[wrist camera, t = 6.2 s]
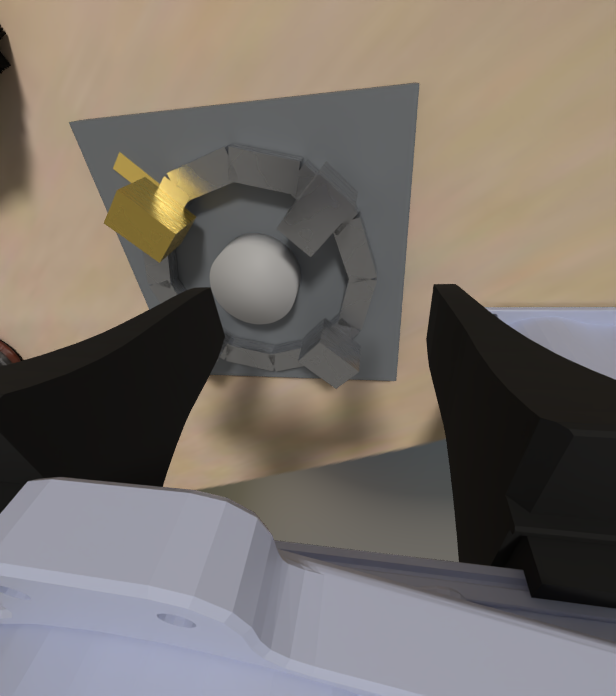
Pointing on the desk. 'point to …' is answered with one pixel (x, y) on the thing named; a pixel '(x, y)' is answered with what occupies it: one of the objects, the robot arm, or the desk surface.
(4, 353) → the supplement bottle
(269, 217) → the cap plate
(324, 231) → the ring nut
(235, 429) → the desk surface
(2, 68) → the cpu cooler
